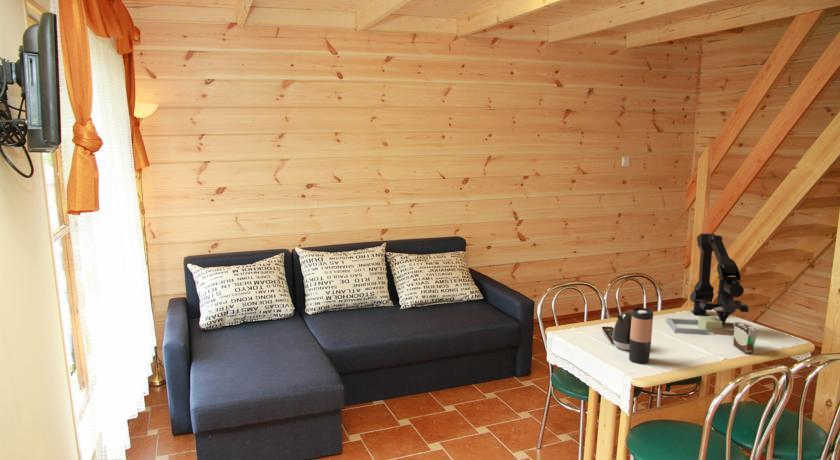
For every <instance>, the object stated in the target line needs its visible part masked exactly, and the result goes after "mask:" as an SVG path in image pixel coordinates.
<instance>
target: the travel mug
mask: <svg viewBox="0 0 840 460" xmlns="http://www.w3.org/2000/svg"><path fill="white" fill-rule="evenodd" d="M631 313H632V320H631V332H630V348H629V350H628V351H629V353H628V358H629V359H628V360H629V361H630V362H631V363H634V364H637V365H646V364H648V363H649V361H650V355H651V345H652V337H653V335H652V334H653V322H654V320H653V319H654V311H653V310H652V309H649V308H647V307H634V308H632V310H631Z"/></svg>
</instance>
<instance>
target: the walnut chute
mask: <svg viewBox="0 0 840 460" xmlns="http://www.w3.org/2000/svg"><path fill="white" fill-rule="evenodd" d="M724 328H725V329H724ZM712 334H713V335H724V336H734V322H727V321H725V323H724V325H722V329H713V332H712Z"/></svg>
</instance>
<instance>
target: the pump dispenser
mask: <svg viewBox="0 0 840 460" xmlns="http://www.w3.org/2000/svg"><path fill="white" fill-rule="evenodd" d="M615 317H616V318H617V319H616V321H615V324H614V327H613V330H612V335H611V339H612V341H613V344H614V346H615V347H617V348H618V349H620V350H623V351H629V348H630V332H631V320H632V312H629V311H623V312H622V313H621V314H620V315H619V314H616V316H615Z"/></svg>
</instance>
